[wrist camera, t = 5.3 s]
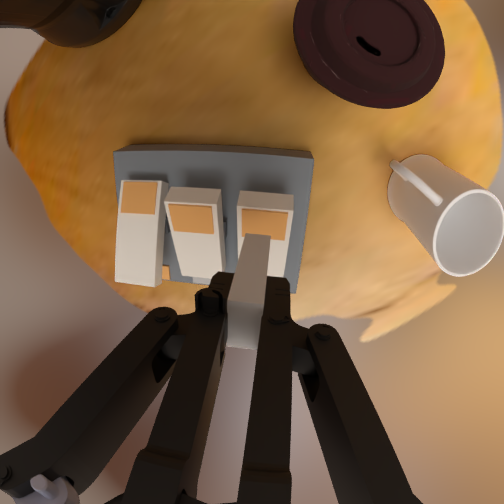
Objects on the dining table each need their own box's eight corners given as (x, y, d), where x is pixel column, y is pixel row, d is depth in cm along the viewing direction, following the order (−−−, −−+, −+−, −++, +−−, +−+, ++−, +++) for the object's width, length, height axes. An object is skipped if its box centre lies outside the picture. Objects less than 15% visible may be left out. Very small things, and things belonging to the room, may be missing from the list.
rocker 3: (240, 190, 25) (236, 207, 24) (293, 194, 25) (293, 212, 23) (241, 266, 33) (238, 283, 31) (282, 270, 32) (281, 287, 31)
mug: (351, 173, 31) (385, 214, 20) (401, 117, 27) (458, 132, 17) (416, 237, 33) (459, 295, 23) (461, 189, 30) (518, 231, 19)
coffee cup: (360, 6, 22) (414, -48, 9) (397, 89, 26) (477, 92, 13) (272, 31, 24) (264, -21, 11) (312, 115, 28) (338, 131, 15)
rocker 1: (130, 182, 29) (120, 179, 27) (168, 183, 29) (161, 180, 27) (123, 278, 30) (114, 281, 28) (161, 283, 30) (153, 287, 28)
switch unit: (130, 144, 31) (107, 154, 27) (310, 151, 30) (315, 161, 26) (140, 258, 39) (124, 280, 34) (294, 274, 37) (296, 300, 33)
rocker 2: (171, 186, 25) (163, 202, 24) (221, 189, 25) (216, 206, 24) (186, 260, 33) (181, 277, 31) (226, 264, 33) (222, 281, 31)
